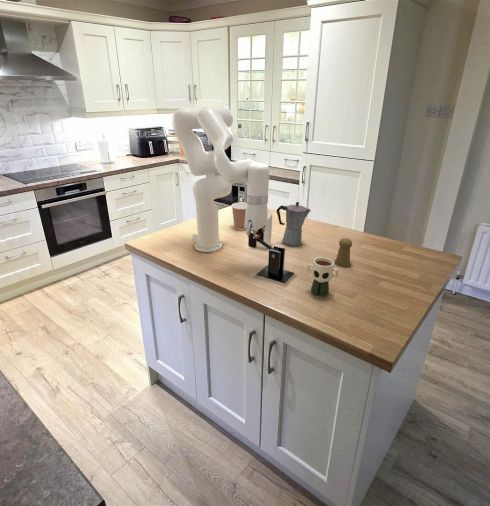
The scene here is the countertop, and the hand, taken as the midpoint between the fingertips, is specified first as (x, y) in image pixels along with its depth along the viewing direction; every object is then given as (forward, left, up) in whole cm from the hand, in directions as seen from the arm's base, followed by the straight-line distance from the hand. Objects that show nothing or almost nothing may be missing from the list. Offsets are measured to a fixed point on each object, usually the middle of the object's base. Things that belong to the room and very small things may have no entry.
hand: (256, 243), depth 135 cm
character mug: (+28, -3, -12) cm, 31 cm away
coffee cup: (-29, +37, -12) cm, 48 cm away
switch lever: (+4, 0, -1) cm, 4 cm away
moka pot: (+1, +33, -12) cm, 35 cm away
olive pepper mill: (+28, +25, -12) cm, 39 cm away
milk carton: (-9, +22, -12) cm, 27 cm away
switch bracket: (+9, 0, -12) cm, 15 cm away
